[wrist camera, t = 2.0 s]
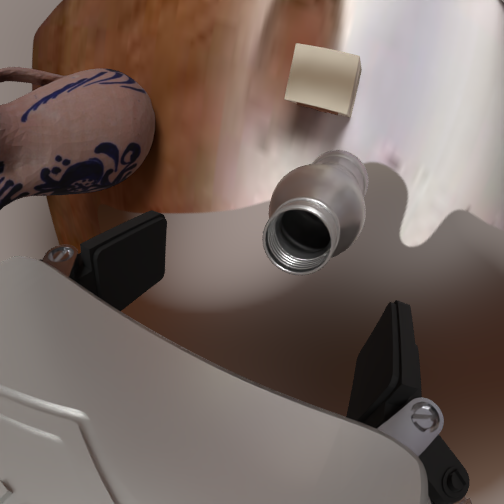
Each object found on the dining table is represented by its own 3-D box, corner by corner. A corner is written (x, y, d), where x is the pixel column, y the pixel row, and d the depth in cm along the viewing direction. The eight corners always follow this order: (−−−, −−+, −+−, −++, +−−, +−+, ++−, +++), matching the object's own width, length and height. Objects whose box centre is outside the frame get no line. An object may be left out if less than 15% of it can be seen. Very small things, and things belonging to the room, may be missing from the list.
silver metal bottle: (380, 180, 28) (393, 252, 12) (337, 216, 32) (292, 319, 16) (341, 136, 28) (300, 143, 12) (300, 175, 32) (212, 234, 15)
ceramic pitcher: (129, 197, 44) (-1, 257, 23) (83, 109, 41) (-36, 134, 20) (196, 132, 35) (13, 169, 14) (134, 38, 31) (-12, 31, 11)
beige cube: (309, 57, 26) (296, 43, 21) (361, 69, 24) (359, 56, 19) (298, 106, 29) (283, 101, 24) (350, 119, 27) (346, 117, 22)
